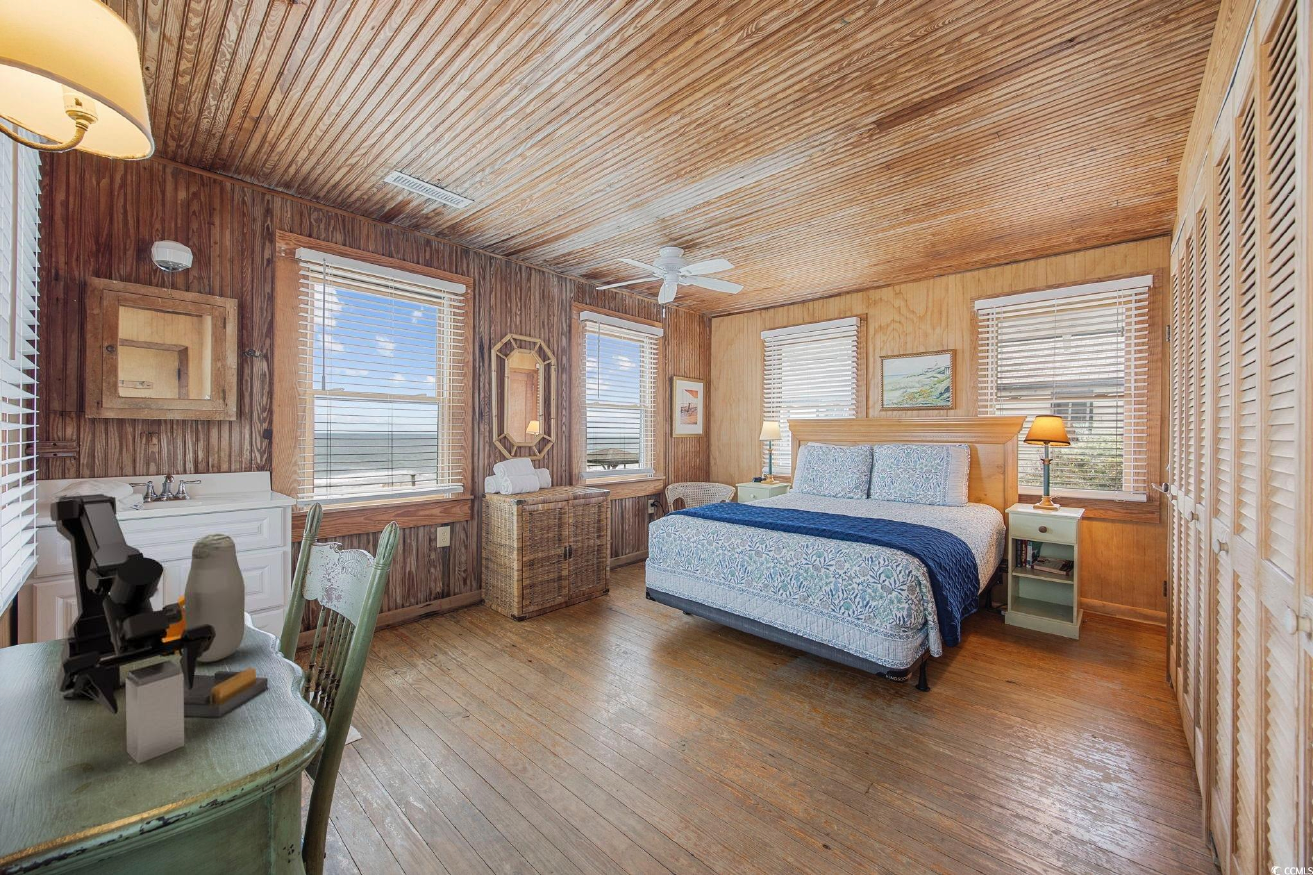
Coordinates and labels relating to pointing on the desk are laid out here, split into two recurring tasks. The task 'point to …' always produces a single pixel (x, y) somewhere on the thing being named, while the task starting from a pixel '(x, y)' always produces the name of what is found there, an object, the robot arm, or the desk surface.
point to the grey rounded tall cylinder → (216, 594)
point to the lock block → (154, 710)
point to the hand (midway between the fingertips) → (155, 699)
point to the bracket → (176, 625)
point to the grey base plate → (221, 692)
